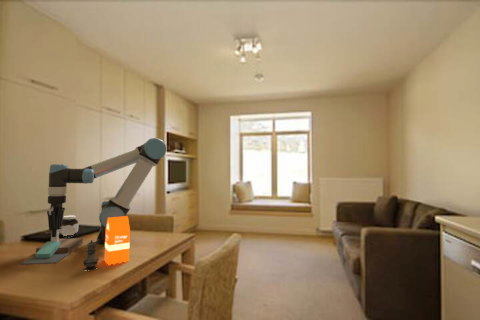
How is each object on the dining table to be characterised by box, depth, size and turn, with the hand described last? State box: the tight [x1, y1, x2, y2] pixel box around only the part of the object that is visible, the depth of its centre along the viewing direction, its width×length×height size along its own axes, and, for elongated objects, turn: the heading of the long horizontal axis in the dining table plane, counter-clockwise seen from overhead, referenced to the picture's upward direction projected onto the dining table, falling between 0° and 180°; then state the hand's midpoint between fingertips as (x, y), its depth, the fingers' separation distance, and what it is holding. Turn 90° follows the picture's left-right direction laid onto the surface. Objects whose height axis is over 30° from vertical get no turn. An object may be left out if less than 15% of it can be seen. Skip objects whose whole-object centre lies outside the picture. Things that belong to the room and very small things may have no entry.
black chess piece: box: [82, 239, 99, 272], centre depth 114 cm, size 6×6×12 cm
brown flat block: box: [35, 237, 84, 254], centre depth 141 cm, size 14×18×3 cm
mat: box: [20, 252, 71, 266], centre depth 125 cm, size 14×14×1 cm
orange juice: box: [104, 215, 131, 266], centre depth 124 cm, size 8×9×20 cm
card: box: [34, 241, 61, 258], centre depth 129 cm, size 6×10×2 cm, turn 9°
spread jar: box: [59, 214, 79, 237], centre depth 168 cm, size 12×11×12 cm
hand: (54, 243), depth 135 cm, fingers closed
